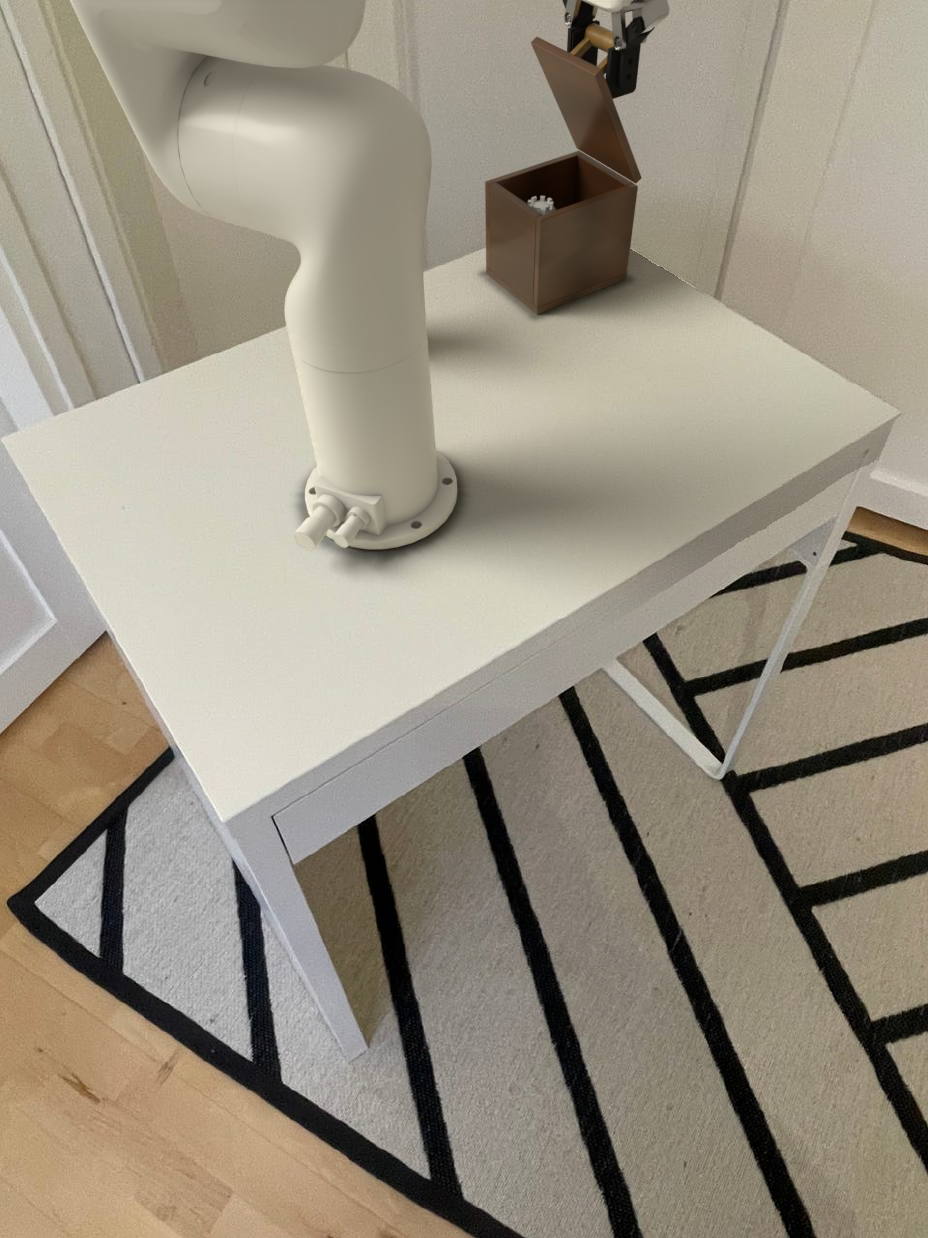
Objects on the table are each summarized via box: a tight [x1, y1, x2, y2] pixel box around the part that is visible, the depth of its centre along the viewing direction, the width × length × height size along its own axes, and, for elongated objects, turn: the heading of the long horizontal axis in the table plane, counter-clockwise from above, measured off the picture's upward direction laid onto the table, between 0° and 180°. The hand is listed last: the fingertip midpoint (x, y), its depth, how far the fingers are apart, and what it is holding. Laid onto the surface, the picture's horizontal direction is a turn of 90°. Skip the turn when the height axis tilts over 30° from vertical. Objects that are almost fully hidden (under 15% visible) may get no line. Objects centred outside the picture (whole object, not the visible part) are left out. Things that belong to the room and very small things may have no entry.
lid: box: [530, 23, 642, 184], centre depth 80 cm, size 12×10×5 cm
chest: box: [484, 150, 639, 315], centre depth 88 cm, size 12×10×10 cm
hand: (600, 81), depth 79 cm, fingers closed on lid, 5 cm apart
